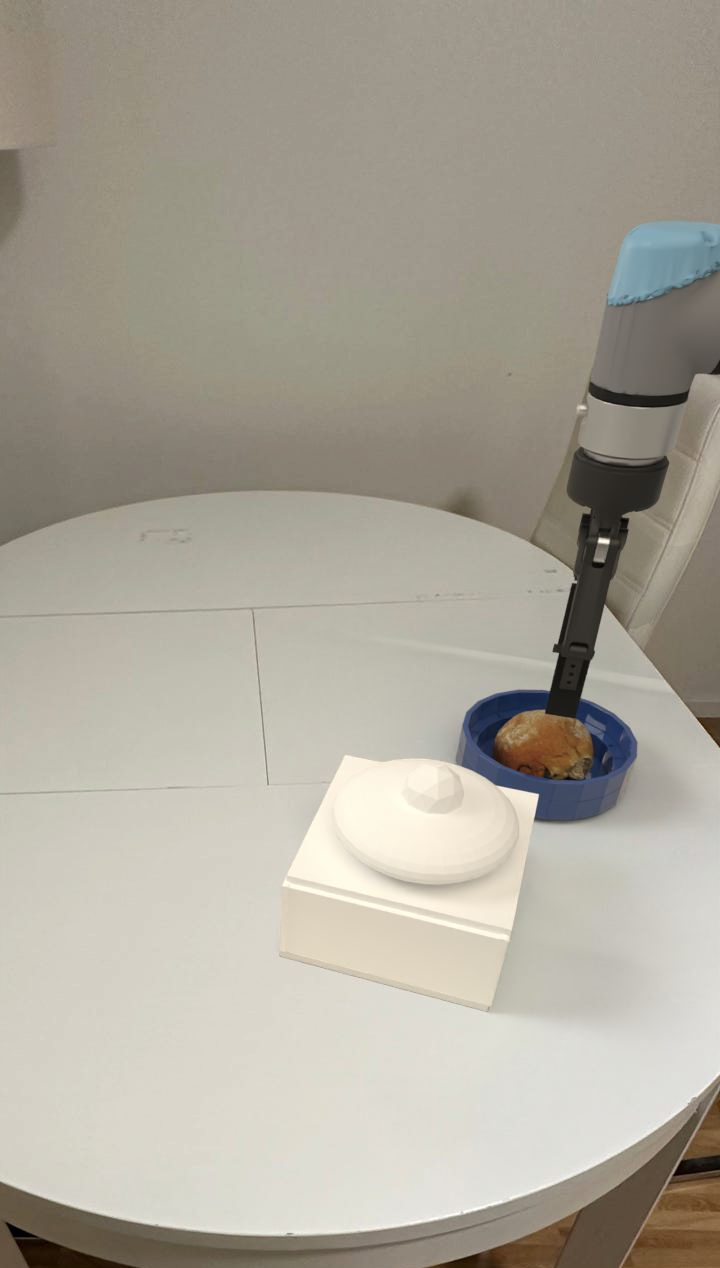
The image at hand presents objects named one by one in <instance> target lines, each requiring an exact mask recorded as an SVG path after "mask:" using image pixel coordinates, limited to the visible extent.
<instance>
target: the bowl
mask: <svg viewBox="0 0 720 1268" xmlns="http://www.w3.org/2000/svg"><path fill="white" fill-rule="evenodd" d="M549 693H550V690H546V689H513V690H508V691H501V692H496V693H493V694H492V695H489V696H486V697H484V698H482V699H479V700H477V701H476V702H475V703H474V704H473V705H472V706H471V707H470V708H469V709H468V710H466V712H465V715H464V718H463V721H462V725H461V730H460V735H459V740H458V746H457V751H456V757H455V762H456V765H459V766H461V767H464V768H467V769H469V770H472V771H474V772H476V773H478V774H479V775H481V776H483V777H485V778H486V779H488V780H489V781H490V782H492V783H493V784H494V785H496V786H501V787H506V788H511V789H515V790H520V791H525V792H530V793H535V794H539V797H538V802H537V807H536V812H535V817H534V818H535V819H542V820H557V821H558V820H559V821H561V820H565V821H566V820H567V821H568V820H569V821H573V820H578V819H582V818H588V817H593V816H598V815H600V814H602V813H603V812H605V811H606V810H607V811H608V809H611V808H612V807H614V806H616V805H617V804H618V802H619V801H620V799H621V798H622V797H623V795H624V794H625V792H626V790H627V787H628V784H629V782H630V778H631V776H632V773H633V770H634V766H635V764H636V761H637V758H638V743H639V742H638V740H637V739H636V737H635V735H634V733H633V731H632V729H631V727H630V726H629V725H628V724H626V722H624V721H623V720H622V719H621V717H619V716H618V715H617V714H615V712H612V711H610V710H608V709H607V708H605V707H603V706H601V705H599V704H597V703H596V702H594V701H591V700H588V699H585V698H582V697H581V698H580V702H579V706H578V710H577V713H576V717H575V718H576V719H577V720H579V721H580V722H581V723H582V724H583V725H584V726H585V727H586V728H587V730H588V731H589V733H590V735H591V738H592V743H593V750H594V755H593V759H592V760H593V765H592V767H591V770H590V771H589V773H588V774H587V776H586V777H585V778H584V779H583V780H582V781H575V780H551V779H546V778H540V777H535V776H530V775H526V774H524V773H521V772H518V771H516V770H513V769H510V768H508V767H505V766H503V765H501V764H500V763H498V762H497V761H495V760H494V759H493V746H494V741H495V738H496V736H497V733H498V732H499V730H500V729H501V728H502V727H503V726H504V725H505V724H506V723H507V722H508V721H509V720H510V719H512V718H513V717H514V716H516V715H518V714H520V713H523V712H526V711H533V710H546V705H547V701H548V697H549Z"/></svg>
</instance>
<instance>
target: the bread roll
mask: <svg viewBox="0 0 720 1268" xmlns="http://www.w3.org/2000/svg"><path fill="white" fill-rule="evenodd" d="M593 755H594V750H593V743H592V738H591V735H590V733H589V731H588V730H587V728H586V727H585V726H584V725H583V724H582V723H581V722H580V721H579V720H577V719H576V718H575V719H574V718H568V717H562V716H556V715H549V714H545V710H533V711H526V712H523V713H520V714H518V715H516V716H514V717H513V718H512V719H510V720H509V721H508V722H507V723H506V724H505V725H504V726H503V727H502V728H501V729H500V730H499V732H498V733H497V736H496V738H495V741H494V746H493V759H494V760H495V761H497V762H498V763H500V764H501V765H503V766H505V767H508V768H510V769H513V770H516V771H518V772H521V773H524V774H526V775H530V776H535V777H540V778H546V779H551V780H575V781H582V780H583V779H584V778H585V777H586V776H587V774H588V773H589V771H590V770H591V767H592V765H593V760H592V759H593Z"/></svg>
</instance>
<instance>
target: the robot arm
mask: <svg viewBox="0 0 720 1268" xmlns="http://www.w3.org/2000/svg"><path fill="white" fill-rule="evenodd" d="M605 300H606V301H605V306H604V312H603V316H602V321H601V324H600V325H601V326H600V331H599V336H598V340H597V345H596V351H595V354H594V355H595V356H594V360H593V365H592V368H591V369H592V370H591V375H590V379H589V384H588V390H587V391H588V392H587V395H586V401H587V402H582V403H581V402H580V403H578V404H577V405H576V407H575V412H574V414H575V415H576V416H577V417H583V419H582V420H581V423H580V428H579V432H578V437H577V443H578V444H579V445H580V447H578V449H576V450H575V451H574V453H573V456H572V460H571V466H570V469H569V470H570V471H569V474H568V479H567V484H566V494H567V496H568V498H569V499H570V500H571V501H572V502H573V503H575V504H577V505H579V506H581V507H583V508H584V507H587V508H588V509H590V511H589V513H585V512H582V514H581V518H580V523H579V527H578V534H577V538H576V545H577V553H576V558H575V561H574V566H573V569H572V574H573V576H572V577H573V578H574V579H573V581H575V582H572V583H571V586H570V589H569V593H568V598H567V603H566V606H565V612H564V615H563V618H562V624H561V628H560V632H559V635H558V636H559V637H558V641H557V643H554V644H553V646H552V651H551V652H552V653H556V654H558V656H557V660H556V665H555V668H554V671H553V676H552V681H551V685H550V689H549V691H550V693H549V697H548V701H547V705H546V710H545V714H549V715H556V716H562V717H568V718H574V719H575V717H576V713H577V710H578V706H579V702H580V698H582V694H583V690H584V687H585V683H586V679H587V676H588V671H589V668H590V664H591V662H592V660H593V658H594V657H595V653H596V650H595V647H596V643H597V639H598V634H599V631H600V625H601V622H602V618H603V613H604V610H605V609H604V608H605V604H606V601H607V596H608V593H609V592H608V591H609V588H610V583H611V581H612V580H613V579H614V578H615V576H616V573H617V570H618V566H619V561H620V557H621V552H622V551H623V550H624V548H625V545H626V543H627V538H628V534H629V530H630V529H629V528H628V527H629V523H630V518H629V517H623V516H624V515H626V514H629V513H633V512H635V513H639V512H643V511H646V510H649V509H651V508H653V507H654V506H655V505H656V504H658V502H659V500H660V497H661V494H662V490H663V487H664V484H665V480H666V479H665V478H666V476H667V473H668V470H669V466H670V461H669V459H668V457H667V456H668V455H670V454H671V453H672V452H673V451H674V450H675V448H676V445H677V442H678V441H677V440H678V438H679V433H680V429H681V426H682V423H683V419H684V416H685V412H686V409H687V405H688V402H689V396H690V395H689V394H690V390H691V387H692V384H693V383H694V380H695V376H696V375H708V376H709V375H710V376H718V375H720V224H719V223H714V222H706V221H689V220H688V221H687V220H659V221H649V222H645V223H641V224H639V225H636V226H634V227H633V228H632V229H631V230H630V231H629V232H628V233H627V234H626V236H625V237H624V238H623V241H622V243H621V246H620V249H619V254H618V257H617V262H616V265H615V269H614V273H613V276H612V281H611V284H610V288H609V291H608V292H607V293H606V297H605Z"/></svg>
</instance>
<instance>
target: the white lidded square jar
mask: <svg viewBox="0 0 720 1268" xmlns="http://www.w3.org/2000/svg"><path fill="white" fill-rule="evenodd" d="M538 797H539V794H535V793H530V792H525V791H520V790H515V789H511V788H506V787H501V786H496V785H494V784H493V783H492V782H490V781H489V780H488V779H486V778H485V777H483V776H481V775H479V774H478V773H476V772H474V771H472V770H469V769H467V768H464V767H461V766H459V765H457V764H456V763H451V762H447V761H443V760H438V759H431V758H430V759H429V758H413V757H411V758H409V757H408V758H399V759H392V760H387V761H383V762H382V761H378V760H373V759H367V758H363V757H357V756H353V755H348V754H344V756H343V759H342V761H341V763H340V764H339V766H338V768H337V771H336V772H335V775H334V777H333V779H332V781H331V783H330V785H329V787H328V789H327V791H326V793H325V795H324V797H323V800H322V802H321V803H320V806H319V807H318V810H317V812H316V814H315V816H314V818H313V820H312V822H311V824H310V826H309V828H308V830H307V832H306V835H304V838H303V841H302V843H301V845H300V846H299V849H298V851H297V853H296V855H295V857H294V858H293V861H292V863H291V865H290V868H289V870H288V871H287V873H286V876H285V878H284V880H283V882H282V884H281V893H280V894H281V895H280V897H281V898H280V920H279V921H280V923H279V924H280V925H279V957H282V958H285V959H289V960H292V961H296V962H301V963H304V964H308V965H312V966H315V967H319V968H323V969H327V970H331V971H334V972H338V973H342V974H345V975H349V976H352V977H356V978H360V979H363V980H367V981H371V982H375V983H379V984H383V985H385V986H390V987H394V988H398V989H400V990H405V991H409V992H413V993H415V994H416V993H417V994H419V995H422V996H427V997H430V998H435V999H437V1000H442V1001H446V1002H450V1003H454V1004H456V1005H461V1006H464V1007H469V1008H472V1009H475V1010H479V1011H483V1012H489V1007H490V1008H491V1007H492V1005H493V1001H494V998H495V994H496V990H497V987H498V984H499V983H498V982H499V979H500V976H501V973H502V969H503V965H504V962H505V959H506V954H507V951H508V947H509V944H510V941H511V940H510V939H511V935H512V931H513V927H514V922H515V917H516V912H517V907H518V902H519V897H520V892H521V887H522V883H523V882H522V881H523V876H524V872H525V868H526V867H525V866H526V862H527V856H528V851H529V847H530V842H531V837H532V833H533V827H534V821H535V818H536V817H535V812H536V807H537V802H538Z"/></svg>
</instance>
